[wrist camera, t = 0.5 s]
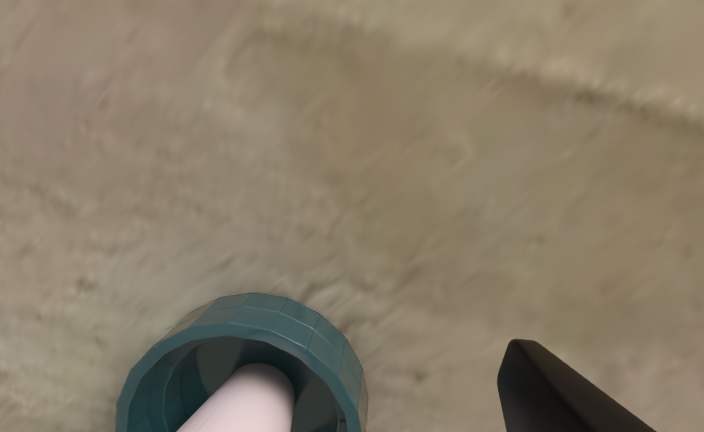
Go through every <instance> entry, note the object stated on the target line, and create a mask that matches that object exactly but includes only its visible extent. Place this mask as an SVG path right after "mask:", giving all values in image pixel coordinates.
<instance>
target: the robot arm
mask: <svg viewBox="0 0 704 432" xmlns="http://www.w3.org/2000/svg"><path fill="white" fill-rule="evenodd" d="M497 386H498V391H499V396H500V401H501V406H502V411H503V416H504V421H505V425H506V430H507V432H656V431H655V430H653V429H652V428H651V427H649V426H648V425H647V424H645V423H644V422H643V421H641V420H640V419H639V418H637V417H636V416H635V415H633V414H632V413H631V412H629V411H628V410H627V409H625V408H624V407H623V406H621V405H620V404H619V403H617V402H616V401H615V400H613V399H612V398H611V397H609V396H608V395H607V394H605V393H604V392H603V391H601V390H600V389H599V388H598V387H596V386H595V385H594V384H592V383H591V382H590V381H588V380H587V379H586V378H584V377H583V376H582V375H580V374H579V373H578V372H576V371H575V370H574V369H572V368H571V367H570V366H568V365H567V364H566V363H564V362H563V361H562V360H560V359H559V358H558V357H556V356H555V355H554V354H552V353H551V352H550V351H548V350H547V349H546V348H544V347H543V346H542V345H540V344H539V343H538V342H536V341H533V340H524V339H513V340H511V341H510V342H509V344H508V346H507V349H506V352H505V355H504V358H503V361H502V364H501V367H500V369H499V372H498V377H497Z"/></svg>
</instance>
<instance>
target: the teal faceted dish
mask: <svg viewBox="0 0 704 432" xmlns="http://www.w3.org/2000/svg"><path fill="white" fill-rule="evenodd" d="M252 363H263V364H268V365H271V366H273V367H275V368H277V369H279V370H280V371H281V372H283V373H284V374H285V375H286V376H287V377H288V379H289V380H290V382H291V384H292V386H293V389H294V393H295V403H294V410H293V417H292V424H291V431H290V432H366V423H367V410H368V394H367V389H366V383H365V378H364V373H363V368H362V366H361V364H360V362H359V360H358V358H357V357H356V355H355V353H354V351H353V349H352V348H351V346H350V344H349V342H348V340H347V339H346V338H345V337H344V336H343V335H342V334H341V333H340V332H339V331H338V330H337V329H336V328H335V327H334V326H333V325H332V324H331V323H330V322H329V321H327V320H326V319H325V318H324V317H323V316H322V315H320V314H319V313H318V312H315V311H313V310H311V309H309V308H307V307H305V306H303V305H301V304H299V303H297V302H295V301H293V300H291V299H288V298H285V297H279V296H273V295H267V294H261V293H247V294H240V295H233V296H226V297H221V298H218V299H216V300H214V301H212V302H210V303H208V304H206V305H204V306H202V307H200V308H198V309H196V310H194V311H192V312H191V313H189V314H188V315H187V316H186V317H185V318H184V319H183V320H182V321H181V322H179V323H178V324H177V325H176V326H175V327H174V328H173V329H172V330H170V331H169V332H168V333H167V334H166V335H165V336H164V337H163V338H162V339H160V340H159V341H158V342H157V343H156V344H155V345H154V346H153V347H152V348H151V349H150V350H149V351H148V352H147V353H146V354H145V355H144V356H143V357H142V358H141V359H140V361H139V362H138V363H137V364H136V365H135V366H134V367H133V368H132V369H131V370H130V372H129V374H128V376H127V379H126V381H125V383H124V386H123V388H122V391H121V393H120V395H119V398H118V400H117V404H116V421H115V432H177V431H178V429H179V428H180V427H181V426H182V425H183V424H184V423H185V422H186V421H187V420H188V419H189V418H190V417H191V416H192V415H193V414H194V413H195V412H196V411H197V410H198V409H199V408H200V407H201V406H202V405H203V404H204V403H205V402H206V401H207V400H208V399H209V398H210V397H211V396H212V395H213V393H214V392H215V391H216V390H217V389H218V388H219V387H220V386H221V385H222V384H223V383H224V382H225V381H226V380H227V379H228V378H229V377H230V376H231V375H232V374H233V373H234V372H235V371H236V370H237V369H239V368H240V367H242V366H244V365H247V364H252Z"/></svg>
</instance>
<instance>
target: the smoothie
mask: <svg viewBox="0 0 704 432" xmlns="http://www.w3.org/2000/svg"><path fill="white" fill-rule="evenodd" d="M294 403H295V393H294V389H293V386H292V384H291V382H290V380H289V379H288V377H287V376H286V375H285V374H284V373H283V372H281V371H280V370H279V369H277V368H275V367H273V366H271V365H268V364H263V363H252V364H247V365H244V366H242V367H240V368H239V369H237V370H236V371H235V372H234V373H233V374H232V375H231V376H230V377H229V378H228V379H227V380H226V381H225V382H224V383H223V384H222V385H221V386H220V387H219V388H218V389H217V390H216V391H215V392H214V393H213V395H212V396H211V397H210V398H209V399H208V400H207V401H206V402H205V403H204V404H203V405H202V406H201V407H200V408H199V409H198V410H197V411H196V412H195V413H194V414H193V415H192V416H191V417H190V418H189V419H188V420H187V421H186V422H185V423H184V424H183V425H182V426H181V427H180V428H179V429H178V431H177V432H290V431H291V424H292V417H293V410H294Z"/></svg>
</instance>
